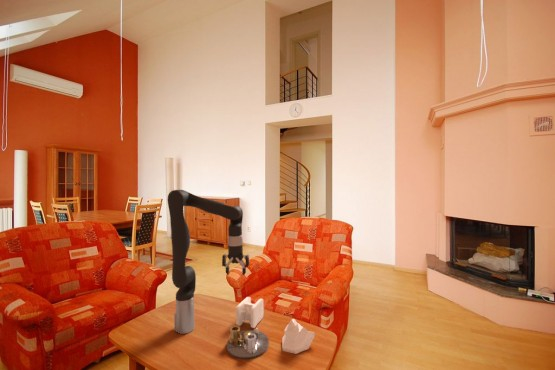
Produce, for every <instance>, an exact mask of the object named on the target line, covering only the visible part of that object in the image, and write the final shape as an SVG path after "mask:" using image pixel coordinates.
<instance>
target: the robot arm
mask: <svg viewBox="0 0 555 370" xmlns="http://www.w3.org/2000/svg"><path fill="white" fill-rule="evenodd" d="M167 205H168V211H169V217H170V219H169V220H170V232H171V233H170V236H171V252H172V254H171V255H172V270H171V271H172V272H171V279H172V283H173V285H174V287H176V288H177V289H178V290H177V291H176V293H175V312H174V317H173V318H174V320H173V321H174V332H175V331H176V332H175V333H177V332H178V334H179V333H180V335H185V334H189V333H191V332H192V331H194V329H195V291H196V283H197V282H196V281H197V280H196V279H197V278H196V270H195V269H194V268H193V267H192V266H190V265H186V259H187V255H188V251H189V249H190V245H191V234H190V229H189V226H188V223H187V221H186V219H185V214H184V213H185V212H184V207H191V208H196V209H199V210H201V211H204V212H205V213H207V214H211V215H216V216H220V217H222V218H225V219H227V220H230V221H229V225H228V228H227V229H228V238H227V240H228V241H227V245H228V248H227V250H228V251H227V252H228V253H224V254H222V257H221V258H222V259H221V261H222V262H221V266H222V267H225V274H226V275H229V274H230V265H231V264H239V265H240V266H241V267H242V271H241V272H242V274H241V275H242V276H245V274H246V272H247V268H248V267H249V266H250V255H249V254H246V255H245V254H244V252H243V251H244V249H243V247H244V245H243V243H244V241H243V227H242V225H243V217H244V215H243V214H244V213H243V208H242V207H241V206H239V205H234V206H231V205H227V204H225V203H224V202H221V201H218V200H217V201H216V200H213V199H209V198H205V197H201V196H198V195H195V194H193V193H191V192H189V191H186V190H184V189H173V190H171V191H170V192H169V193H168V194H167ZM227 258H228V262H227ZM244 260H245V261H244Z"/></svg>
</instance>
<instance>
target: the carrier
mask: <svg viewBox="0 0 555 370" xmlns="http://www.w3.org/2000/svg"><path fill="white" fill-rule="evenodd" d="M248 334H255V335H256V343H257V344H258V346H259V349H258V352H256V353H254V354H253V353H252V354H247V353H245V352H244V346H245V344H246V336H247V335H248ZM240 335H242V342H241V343H240V344H238V345H234V344H233V345H231V344H229V339H228V340H227V342H226V351H227V352H228V354H230V355H231V357H234V358H236V359H242V360H249V359H255V358H258V357H260V356H261V355H263V354H264V353H265V352H266V351H267V350H268V348H269V345H270V343H269V337H268V336H267V335H266V334H265V333H263V332H262V331H261V330H260V331H259V328H258V327H255V328H254V330H253V329H246V330H242V331H241V330H240Z"/></svg>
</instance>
